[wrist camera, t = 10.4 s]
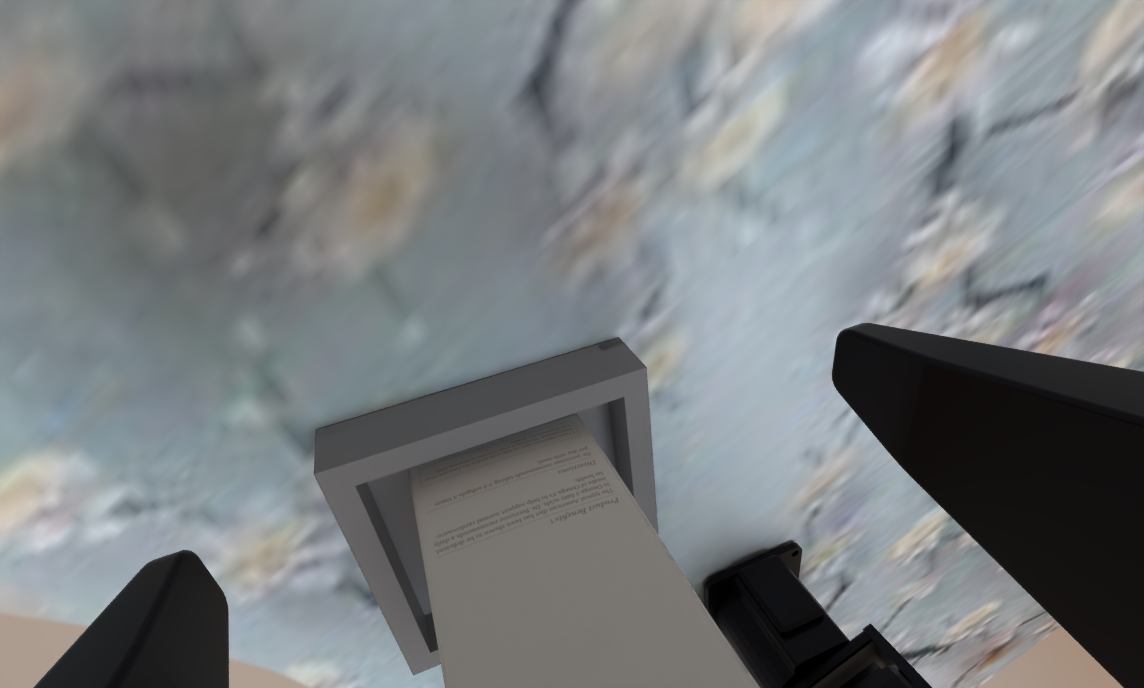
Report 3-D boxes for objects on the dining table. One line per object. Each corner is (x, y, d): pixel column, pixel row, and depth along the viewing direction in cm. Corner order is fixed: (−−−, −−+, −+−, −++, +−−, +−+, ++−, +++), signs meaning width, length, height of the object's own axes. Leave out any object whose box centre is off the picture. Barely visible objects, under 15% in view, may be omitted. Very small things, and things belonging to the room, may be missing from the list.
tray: (638, 534, 30) (661, 572, 28) (407, 625, 27) (413, 675, 25) (619, 337, 23) (646, 367, 21) (315, 430, 21) (313, 474, 19)
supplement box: (443, 585, 26) (517, 965, 15) (403, 461, 22) (466, 853, 11) (595, 530, 28) (755, 836, 17) (583, 407, 24) (777, 703, 13)
